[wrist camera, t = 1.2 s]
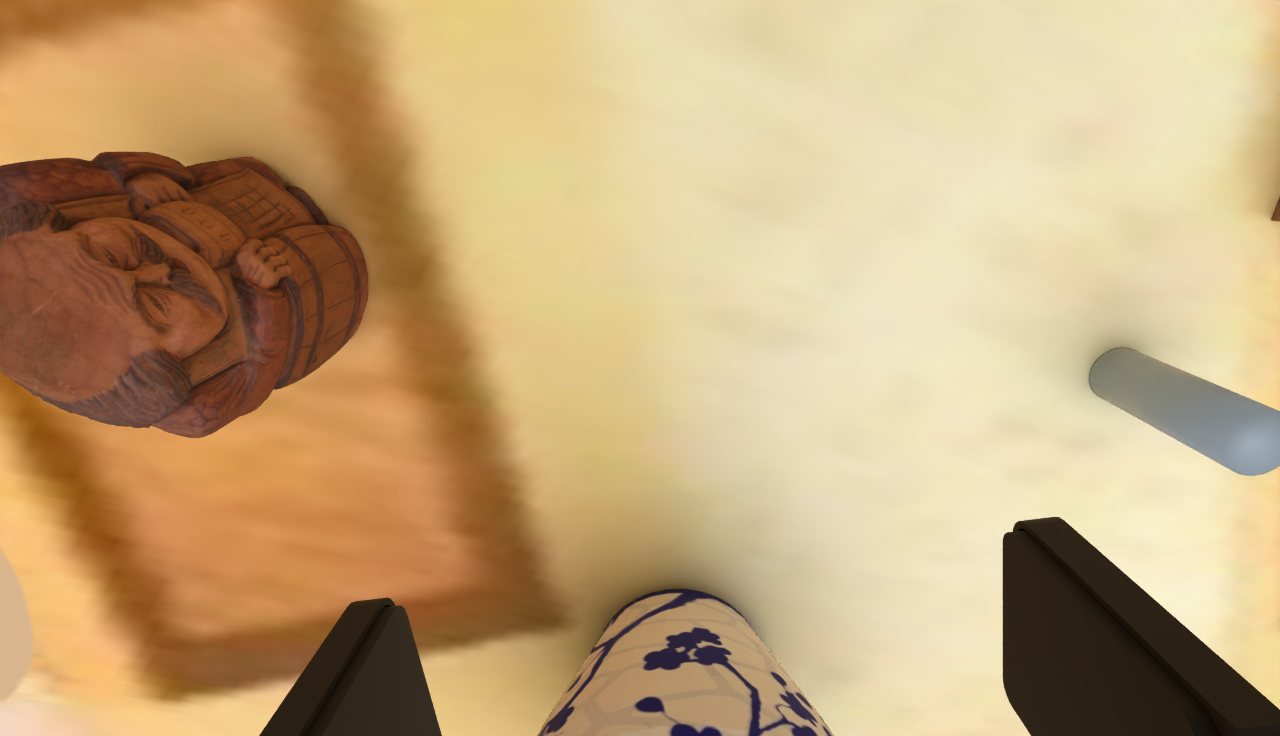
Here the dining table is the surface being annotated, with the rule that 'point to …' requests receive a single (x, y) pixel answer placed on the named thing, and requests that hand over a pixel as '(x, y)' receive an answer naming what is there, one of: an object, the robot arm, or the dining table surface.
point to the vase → (682, 677)
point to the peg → (1191, 410)
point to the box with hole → (1277, 213)
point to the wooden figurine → (168, 287)
